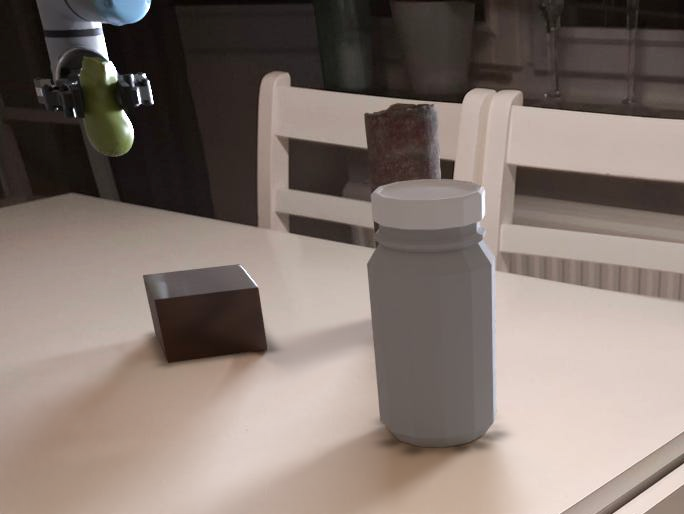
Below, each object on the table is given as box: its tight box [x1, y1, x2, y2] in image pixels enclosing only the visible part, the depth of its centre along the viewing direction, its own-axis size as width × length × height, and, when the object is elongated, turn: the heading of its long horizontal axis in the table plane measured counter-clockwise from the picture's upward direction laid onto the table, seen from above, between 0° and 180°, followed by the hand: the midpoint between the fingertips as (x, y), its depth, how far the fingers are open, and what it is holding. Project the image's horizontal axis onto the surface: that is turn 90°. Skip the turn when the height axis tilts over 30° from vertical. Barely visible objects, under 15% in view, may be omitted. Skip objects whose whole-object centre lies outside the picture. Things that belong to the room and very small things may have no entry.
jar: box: [366, 178, 498, 448], centre depth 79 cm, size 10×10×18 cm
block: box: [142, 263, 268, 364], centre depth 102 cm, size 10×10×6 cm
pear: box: [80, 57, 135, 157], centre depth 117 cm, size 6×5×10 cm
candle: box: [363, 102, 442, 249], centre depth 103 cm, size 8×7×20 cm
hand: (104, 102), depth 112 cm, fingers closed on pear, 5 cm apart
